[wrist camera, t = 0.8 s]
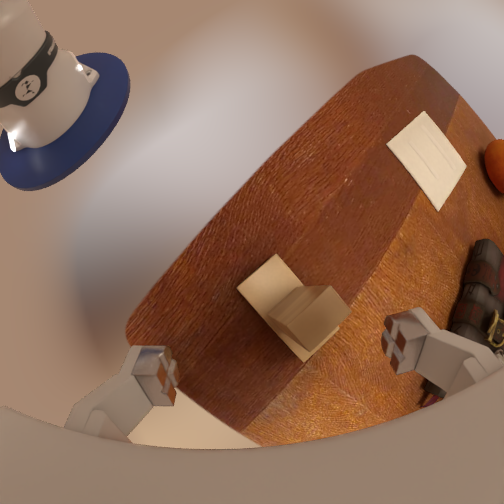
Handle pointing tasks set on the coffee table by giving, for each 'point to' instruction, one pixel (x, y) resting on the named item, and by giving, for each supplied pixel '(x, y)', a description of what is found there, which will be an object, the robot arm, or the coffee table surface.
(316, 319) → the wooden post on base
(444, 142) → the flat beige rectangular tile
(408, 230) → the coffee table surface
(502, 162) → the fruit
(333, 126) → the coffee table surface
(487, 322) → the book
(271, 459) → the robot arm
